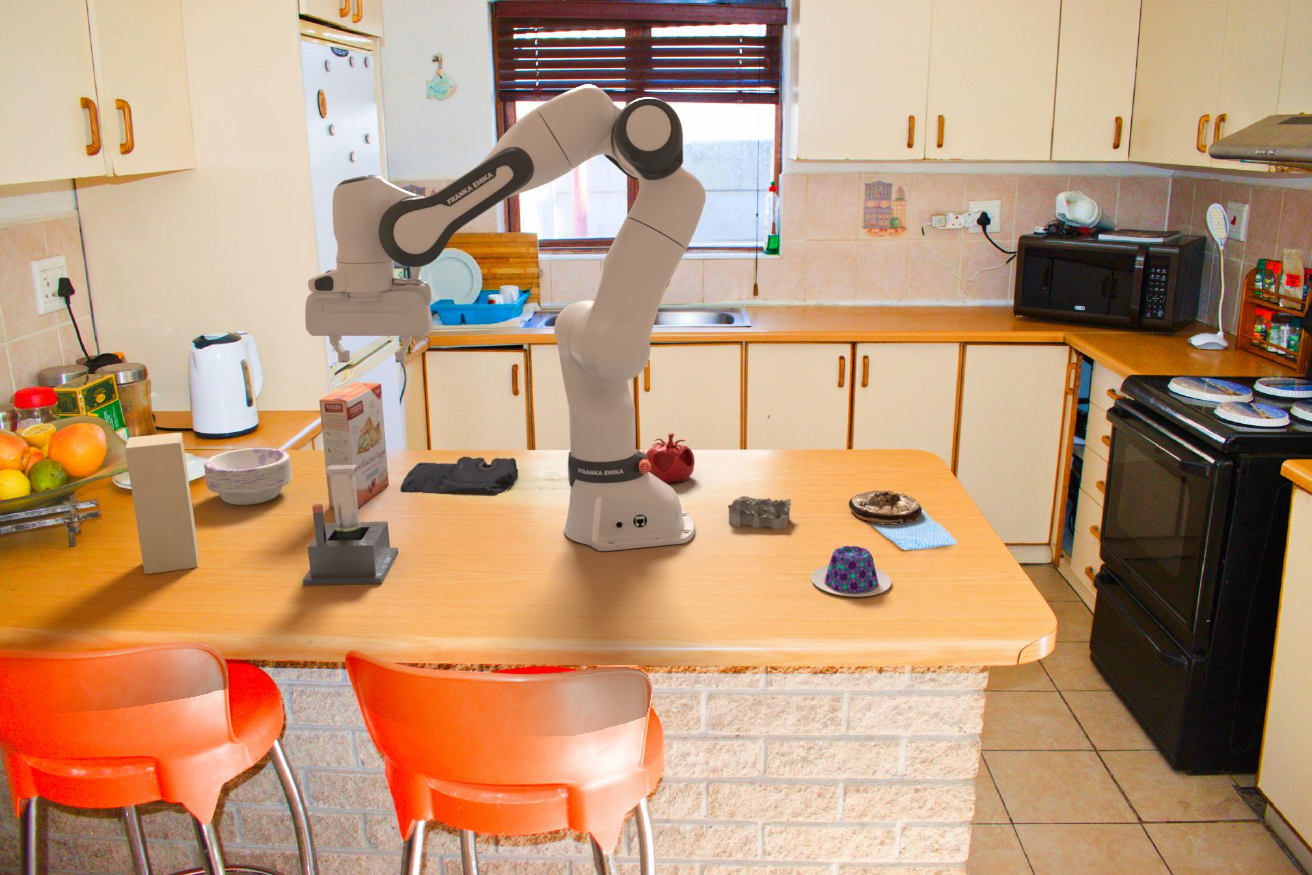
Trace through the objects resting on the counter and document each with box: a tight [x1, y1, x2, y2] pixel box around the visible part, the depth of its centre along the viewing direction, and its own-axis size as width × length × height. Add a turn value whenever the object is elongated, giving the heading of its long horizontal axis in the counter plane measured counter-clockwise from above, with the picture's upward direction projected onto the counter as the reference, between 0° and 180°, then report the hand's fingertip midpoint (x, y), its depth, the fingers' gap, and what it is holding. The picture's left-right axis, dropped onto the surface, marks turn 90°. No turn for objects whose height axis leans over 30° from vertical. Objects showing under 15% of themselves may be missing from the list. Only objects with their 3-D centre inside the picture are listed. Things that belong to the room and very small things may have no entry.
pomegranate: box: [645, 432, 696, 484], centre depth 206 cm, size 10×10×9 cm
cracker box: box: [318, 381, 390, 508], centre depth 196 cm, size 14×6×21 cm, turn 168°
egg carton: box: [727, 495, 792, 531], centre depth 184 cm, size 11×8×4 cm
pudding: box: [811, 545, 892, 598], centre depth 159 cm, size 12×12×5 cm
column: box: [325, 465, 361, 541], centre depth 164 cm, size 4×4×16 cm
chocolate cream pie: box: [848, 490, 923, 524], centre depth 187 cm, size 15×15×4 cm
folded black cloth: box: [400, 456, 519, 496], centre depth 206 cm, size 15×22×5 cm
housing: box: [302, 503, 399, 586], centre depth 165 cm, size 12×12×12 cm
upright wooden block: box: [125, 432, 200, 575], centre depth 167 cm, size 8×7×21 cm
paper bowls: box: [203, 447, 293, 506], centre depth 199 cm, size 15×15×8 cm
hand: (372, 361), depth 174 cm, fingers open, 8 cm apart
